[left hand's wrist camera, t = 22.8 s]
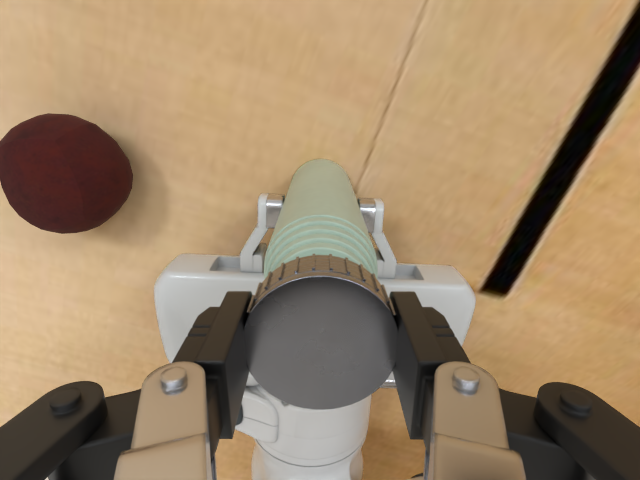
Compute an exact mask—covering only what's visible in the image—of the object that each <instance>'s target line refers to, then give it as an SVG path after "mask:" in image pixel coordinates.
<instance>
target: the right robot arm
mask: <svg viewBox="0 0 640 480" xmlns="http://www.w3.org/2000/svg"><path fill="white" fill-rule="evenodd" d="M284 200H285V195H284V194H269V193H261V194H260V196H259V199H258V223H257V225H256V227H255V228H254V230H253V231H252V233H251V235H250V236H249V238H248V240H247V241H246V243H245V245H244V247H243V249H242V251H241V253H240V256H230V255H209V254H188V253H185V254H180V255H178V256H177V257H176V258H175V259H174V260H173V261H171V262H170V263H169V264H168V265H167V266H166V267H165V268H164V270H163V271H162V272H161V274H160V275H159V276H158V278H157V280H156V282H155V285H154V300H155V308H156V315H157V320H158V326H159V330H160V335H161V339H162V343H163V347H164V350H165V353H166V356H167V358H168V361H169V362H170V363H172V362H173V360H174V358H175V356H176V354H177V353H178V351H179V349H180V347H181V345H182V344H183V342H184V340H185V338H186V336H188V333H189V331H190V329H191V328H192V326H193V324H194V322H195V320H196V318H197V317H198V315H199V314H201V313H202V312H203V311H205V310H206V309H207V308H209V307H220V305H221V303H222V301H223V299H224V297H225V295H226V293H227V291H251V292H252V295H255V293H256V290H257V287H258V284H259V283H260V282H261V283H262V282H263V281H264V260H265V255H266V251H267V245H266V244H265V243H260V242H261V240H262V238H263V237H264V235H265V233H266V232H267V230H268V228H275V226H276V223H277V220H278V217H279V214H280V212H281V209H282V206H283V203H284ZM357 202H358V205H359V207H360V210H361V213H362V216H363V219H364V222H365V224H366V227H367V230H368V232H369V233H371V234H372V236H373V238H374V240H375V243H376V245H377V247H378V248H374V250H375V253H376V257H377V265H378V267H377V268H378V277H377V280H378V281H379V282H380V284H381V285H382V284H383V285H384V286H385V289H386V292H387V295H388V297H389V295H390V292H391V291H414V292H415V293H416V295H417V297H418V299H419V301H420V303H421V305H422V307H433V308H434V309H436V310H437V311H438V312H440V313H441V314H442V315H444V317H445V318H446V320H447V322H448V324H449V325H450V328H451V329H452V331H453V333H454V334H455V337H456V338H457V340H458V341H459V343H460V345H461V347H462V345H463V343H464V340H465V337H466V335H467V332H468V329H469V326H470V323H471V320H472V316H473V313H474V309H475V304H476V297H475V294H474V292H473V290H472V288H471V286H470V285H469V283H468V282H467V281H466V279H465V278H464V277H463V276H462V275H461V274H460V273H459V272H458V271H457V269H455V268H454V267H452V266H449V265H431V264H409V263H397V260H396V258H395V256H394V254H393V252H392V249H391V247H390V245H389V243H388V241H387V239H386V237H385V235H384V233H383V231H382V226H383V216H384V203H383V201H382V199H375V198H358V200H357ZM378 249H379V250H378ZM379 388H397V387H396V383H395V379H394V375H393V372H391V374H390V376H389V377H388V379H387V380H386V381H385V382H384V383H383V385H382V386H381V387H379ZM371 399H372V394H371V395H369V396H368V397H366V398H364V399H363V400H361V401H359V402H356V403H354V404H351V405H348V406H345V407H341V408H336V409H326V410H314V409H306V408H301V407H297V406H293V405H290V404H288V403H285V402H283V401H281V400H279V399H277V398H275V397H274V396H272V395H271V394H269V393H268V392H267V391H266V390H264V389H263V388H262V387H261V386H260V385H259V384H258V383H257V382H256V380H255V379H254V378H253V376H252V375H251V373H250V371H249V375H248V379H247V383H246V387H245V391H244V395H243V399H242V403H241V407H240V410H239V414H238V418H237V422H236V426H235V430H238V431H240V432H243V433H245V434H247V435H249V436H251V437H253V438H254V440H255V443H256V444H255V447H254V450H253V455H252V462H251V472H252V480H362V476H363V457H362V452H361V448H362V446H363V444H364V442H365V439H366V435H367V431H368V424H369V415H370V406H371ZM407 480H423V473H421V474H418V475H415V476H413V477H412V478H411V479H407Z"/></svg>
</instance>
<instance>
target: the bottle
mask: <svg viewBox="0 0 640 480" xmlns="http://www.w3.org/2000/svg"><path fill="white" fill-rule="evenodd" d="M312 254H315V255H329V254H332V256H336V257H340V258H344V259H345V257H347V258H348V260H350V261H352V262H354V263H357V264H358V265H360V264H362V265H363V268H365V269H366V270H367V271H369V272H370V273H371V274H372V273H374V274H375V276H376V279H377V277H378V268H377V267H378V265H377V257H376V253H375V250H374V247H373V244H372V241H371V238H370V236H369V233H368V230H367V227H366V224H365V222H364V219H363V216H362V213H361V210H360V207H359V205H358V202H357V199H356V196H355V193H354V191H353V188H352V185H351V182H350V179H349V177H348V175H347V173H346V172H345V170H344V169H343V168H342V167H341V166H340V165H338V164H337V163H335V162H333V161H330V160H327V159H315V160H311V161H309V162H306V163H305V164H303V165H302V166H301V167H300V168H299V169H298V170H297V171H296V172H295V174H294V176H293V178H292V181H291V183H290V186H289V189H288V192H287V195H286V198H285V200H284V203H283V206H282V209H281V212H280V214H279V217H278V220H277V223H276V226H275V228H274V231H273V234H272V237H271V240H270V243H269V245H268V248H267V251H266V255H265V260H264V279H265V278H266V277H267V276H268V273H269V272H270V271H271V272H273V271H274V270H275V269H277V268H278V267H280V266H281V263H283V262H284V264H285V263H287V262H289V261H292V260H295V259H296V257H298V256H299V258H301V257H306V256H312Z"/></svg>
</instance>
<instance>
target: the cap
mask: <svg viewBox="0 0 640 480" xmlns="http://www.w3.org/2000/svg"><path fill="white" fill-rule="evenodd" d="M246 314H248V315H247V318H246V321H245V325H244V339H245V351H246V364H247V368H248V369H249V371H250V373H251V375H252V376H253V378H254V379H255V380H256V382H257V383H258V384H259V385H260V386H261V387H262V388H263V389H264V390H266V391H267V392H268V393H269V394H271V395H272V396H274V397H275V398H277V399H279V400H281V401H283V402H285V403H288V404H290V405H293V406H297V407H301V408H306V409H314V410H326V409H336V408H341V407H345V406H348V405H351V404H354V403H356V402H359V401H361V400H363V399H364V398H366V397H368V396H369V395H371V394H372V393H374V392H375V391H376V390H377V389H378V388H379V387H381V386H382V385H383V383H384V382H385V381H386V380H387V379H388V377H389V376H390V374H391V372H392V371H393V369H394V367H395V364H396V352H397V339H398V326H397V323H396V320H395V317H396V313H395V310H394V307H393V304H392V301H391V299H390V297H388V295H387V292H386V289H385V286H384V285H383V284H382V285H381V284H380V282H379V281H378V280H377V279H376V276H375V274H374V273H372V274H371V273H370V272H369V271H367V270H366V269H365V268H363V265H362V264H360V265H358V264H357V263H354V262H352V261H350V260H348V258H347V257H345V259H344V258H340V257H336V256H332V254H329V255H315V254H312V256H306V257H301V258H299V256H298V257H296V259H295V260H292V261H289V262H287V263H285V264H284V262H283V263H281V266H280V267H278V268H277V269H275V270H274V271H273V272H271V271H270V272H269V273H268V276H267V277H266V278H265V279H264V281H263V282H262V283H261V282H260V283H259V284H258V287H257V290H256V293H255V295H252V297H251V300H250V303H249V306H248V309H247V312H246Z"/></svg>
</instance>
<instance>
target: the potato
mask: <svg viewBox="0 0 640 480" xmlns="http://www.w3.org/2000/svg"><path fill="white" fill-rule="evenodd" d="M132 180H133V174H132V170H131V166H130V163H129V160H128V158H127V157H126V155H125V154H124V152H123V151H122V149H121V148H120V147H119V145H118V144H117V142H116V141H115V140H114V139H113V138H112V137H110V136H109V135H108V134H107V133H106V132H104V131H103V130H102V129H101V128H100V127H98V126H97V125H96V124H93V123H91V122H88V121H86V120H83V119H81V118H79V117H76V116H72V115H66V114H44V115H39V116H36V117H34V118H31V119H29V120H26V121H24V122H22V123H20V124H18V125H17V126H15V127H14V128H12V129H11V130H10V131H9V132H8V133H7V134H6V135H5V136H4V138H3V139H2V140H1V141H0V181H1V185H2V188H3V191H4V193H5V195H6V197H7V199H8V201H9V204H10V205H11V206H12V207H13V209H14V210H15V211H16V212H17V213H18V215H19V216H20V217H22V218H23V219H25V220H26V221H27V222H29V223H30V224H32V225H34V226H36V227H38V228H40V229H42V230H46V231H51V232H56V233H62V234H63V233H78V232H83V231H88V230H90V229H93V228H95V227H98V226H100V225H101V224H103V223H104V222H105V221H107V220H108V219H109V218H110V217H112V216H113V215H114V214H115V213H116V212H117V211H118V210H119V209H120V208H121V206H122V205H123V204H124V202H125V201H126V200H127V198H128V196H129V193H130V191H131V189H132Z"/></svg>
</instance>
